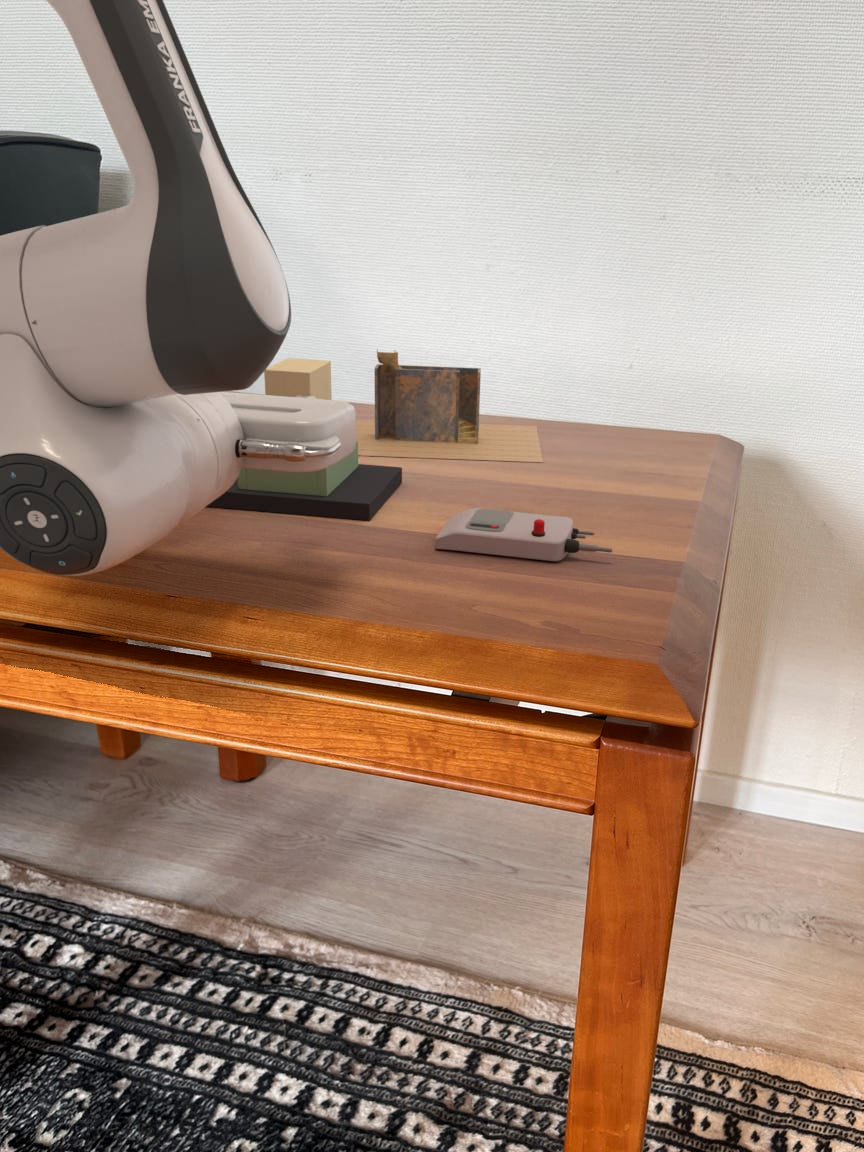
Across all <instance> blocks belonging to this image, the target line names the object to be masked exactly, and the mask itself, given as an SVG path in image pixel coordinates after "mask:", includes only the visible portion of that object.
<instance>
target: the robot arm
mask: <svg viewBox="0 0 864 1152" xmlns="http://www.w3.org/2000/svg"><path fill="white" fill-rule="evenodd" d="M45 1H46V2H47V3H48V4H49V5H50V6H51V8H53V10H54V11H55V12H56V13H57V15H58V16H59V17H60V19H61V21H62V22H63V24H64V26H65V27H66V29H67V31H68V33H69V35H70V37H71V39H72V41H73V43H74V46H75V48H76V50H77V53H78V55H79V57H80V59H81V62H82V64H83V66H84V68H85V71H86V73H87V75H88V78H89V80H90V82H91V84H92V87H93V89H94V92H95V93H96V96H97V98H98V100H99V103H100V105H101V108H102V109H103V112H104V114H105V117H106V118H107V121H108V124H109V125H110V128H111V130H112V132H113V134H114V137H115V139H116V141H117V143H118V146H119V148H120V151H121V153H122V155H123V157H124V159H125V162H126V163H127V166H128V169H129V171H130V174H131V176H132V180H133V193H132V197H131V199H130V201H129V203H128V204H126V205H125V206H121V207H117V208H113V209H109V210H106V211H105V210H104V211H102V212H98V213H93V214H90V215H85V216H82V217H78V218H74V219H70V220H66V221H61V222H59V223H58V222H57V223H54V224H50V225H46V224H42V225H37V226H34V227H30V228H25V229H21V230H17V231H13V232H10V233H5V234H2V235H0V549H1V550H2V551H3V552H4V553H6V554H7V555H8V556H10V557H11V558H13V559H14V560H16V561H18V562H19V563H20V564H23V565H25V566H27V567H30V568H32V569H34V570H37V571H40V572H43V573H46V574H50V575H57V576H65V577H66V576H67V577H68V576H69V577H79V576H88V575H93V574H97V573H99V572H103V571H106V570H109V569H111V568H113V567H115V566H117V565H119V564H123V563H124V562H126V561H128V560H130V559H132V558H134V557H135V556H137V555H139V554H140V553H142V552H144V551H145V550H147V549H148V548H150V547H151V546H153V545H155V544H156V543H158V542H159V541H161V540H162V539H163V538H165V537H166V536H167V535H168V534H169V533H171V532H172V531H173V530H174V528H176V527H177V525H178V524H179V523H181V522H184V521H187V520H189V519H190V518H192V517H193V516H195V515H196V514H198V513H199V512H201V510H203V509H204V508H206V507H208V506H207V505H208V504H210V503H211V502H213V501H214V500H215V499H217V498H218V497H220V496H221V495H222V494H224V493H225V492H226V491H227V490H228V489H229V488H230V487H231V486H232V485H233V484H234V482H235V481H236V479H237V477H238V476H239V474H240V471H241V469H242V468H252V469H264V470H276V471H288V472H312V471H318V470H322V469H325V468H327V467H329V466H331V465H333V464H335V463H337V462H339V461H341V460H343V459H344V458H346V457H347V456H349V455H350V454H352V453H353V452H354V450H355V447H356V419H357V413H356V409H355V406H354V405H352V404H351V403H349V402H347V401H346V400H345V401H344V400H337V399H332V400H325V399H316V397H313V396H298V395H297V396H296V397H285V396H272V395H265V394H257V393H255V394H254V393H245V392H234V391H243V390H247V389H249V388H250V387H251V386H252V385H254V384H255V383H256V382H257V381H258V380H259V378H260V377H261V376H262V375H263V374H264V371H265V370H266V369H267V368H269V367H270V364H271V363H272V362H273V360H274V358H275V357H276V356H277V354H278V353H279V350H280V349H281V347H282V346H283V343H284V341H285V339H286V337H287V335H288V332H289V330H290V327H291V323H292V305H291V298H290V293H289V289H288V284H287V281H286V278H285V274H284V271H283V269H282V265H281V263H280V260H279V258H278V255H277V253H276V251H275V248H274V247H273V244H272V242H271V240H270V238H269V235H268V234H267V231H266V230H265V228H264V226H263V224H262V222H261V219H260V217H259V216H258V214H257V212H256V211H255V209H254V207H253V205H252V203H251V201H250V199H249V197H248V196H247V193H246V192H245V190H244V188H243V186H242V184H241V182H240V180H239V178H238V176H237V174H236V171H235V170H234V167H233V165H232V162H231V161H230V159H229V156H228V153H227V151H226V149H225V147H224V144H223V142H222V139H221V138H220V135H219V133H218V130H217V127H216V125H215V123H214V120H213V118H212V115H211V113H210V110H209V108H208V105H207V103H206V100H205V99H204V96H203V94H202V91H201V88H200V86H199V84H198V81H197V78H196V76H195V74H194V72H193V69H192V67H191V64H190V62H189V60H188V57H187V55H186V52H185V50H184V47H183V45H182V43H181V39H180V38H179V35H178V33H177V30H176V28H175V26H174V23H173V21H172V18H171V16H170V14H169V11H168V9H167V7H166V3H165V1H164V0H45Z"/></svg>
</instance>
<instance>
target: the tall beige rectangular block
mask: <svg viewBox="0 0 864 1152" xmlns="http://www.w3.org/2000/svg"><path fill="white" fill-rule="evenodd" d="M263 375H264V392H265V393H264V395H272V396H285V397H296V396H297V395H298V396H313V397H316V399H325V400H333V399H332V363H331V360H324V359H323V360H321V359H307V358H293V357H291V358H290V357H288V358H285V359H283V360H281V361H280V362H277V363H275V364H272V365H271V366H268V367H267V368H266V370H265V371H264V372H263Z"/></svg>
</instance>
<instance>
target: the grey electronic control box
mask: <svg viewBox="0 0 864 1152" xmlns="http://www.w3.org/2000/svg"><path fill="white" fill-rule="evenodd" d="M587 536H595V532H594V531H588V530H587V531H586V530H580V529H579V528H575V527H574V520H573V519H572V518H570V517H569V516H559V515H558V516H557V515H550V514H538V513H531V512H530V513H528V512H518V511H509V510H502V509H492V508H491V509H490V508H480V507H473V508H468V509H465V510H463V511H460V512H457V513H455V514H454V515H452V517H450V519H449V520H448V521H447V522H446V524H445V525H444V526H443V527H442V529H441V530H440V531H439V532H438V533H437V534H436V537H435V540H434V549H436V550H445V551H455V552H456V551H457V552H466V553H474V554H484V555H490V556H491V555H492V556H501V557H510V558H520V559H529V560H536V561H537V560H539V561H546V562H560V561H562V560H563V559H565V557H566V556H567V555H568V553H570V554H575V553H578V552H579V551H582V552H591V553H596V552H602V553H612V552H613V548H612V547H611V548H610V547H603V546H598V545H596V544H595V545H594V544H585V543H580V541H579V540H577V539H582V540H584V539H585V540H586V538H587Z"/></svg>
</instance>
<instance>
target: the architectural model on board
mask: <svg viewBox="0 0 864 1152" xmlns="http://www.w3.org/2000/svg"><path fill="white" fill-rule="evenodd" d="M376 357H377V358H376V359H377V362H378V363H377V364H376V365H375V367H374V419H360V418H359V419H358V418H356V441H358V456H363V457H390V458H391V457H392V458H417V459H441V460H467V461H468V460H471V461H492V462H493V461H494V462H495V461H496V462H522V463H544V460H543V454H542V449H541V448H542V447H541V443H540V437H539V432H538V431H539V430H538V427H537V425H521V424H520V425H518V424H517V425H516V424H494V423H493V424H491V423H488V424H487V423H480V402H481V401H480V400H481V373H482V368H481V367H461V366H437V365H436V366H435V365H434V366H433V365H432V366H431V365H408V364H407V365H406V364H399V352H398V351H396V350H394V352H389V351H386V352H385V351H384V352H383V351H378V349H376Z"/></svg>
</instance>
